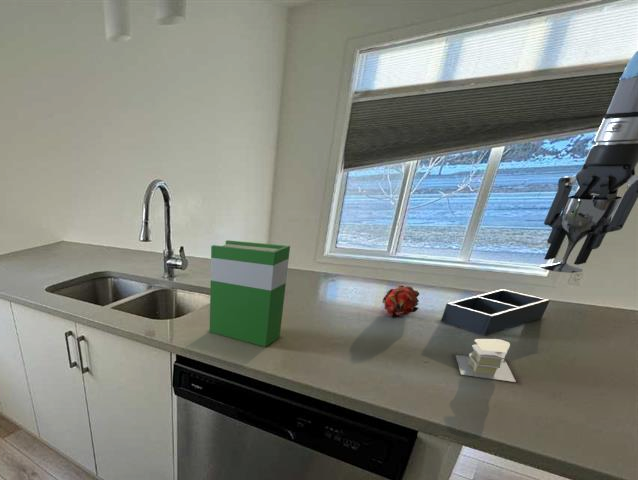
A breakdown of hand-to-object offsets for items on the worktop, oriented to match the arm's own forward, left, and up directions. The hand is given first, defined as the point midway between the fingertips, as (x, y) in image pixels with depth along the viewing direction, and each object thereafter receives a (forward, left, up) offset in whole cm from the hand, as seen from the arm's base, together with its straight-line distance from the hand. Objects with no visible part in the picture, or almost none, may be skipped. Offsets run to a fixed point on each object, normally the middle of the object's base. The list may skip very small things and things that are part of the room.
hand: (564, 260), depth 92 cm
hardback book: (+34, +61, -17) cm, 72 cm away
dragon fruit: (+24, +16, -17) cm, 34 cm away
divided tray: (+9, +1, -17) cm, 19 cm away
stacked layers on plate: (-7, +28, -17) cm, 34 cm away
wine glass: (0, 0, -2) cm, 2 cm away
